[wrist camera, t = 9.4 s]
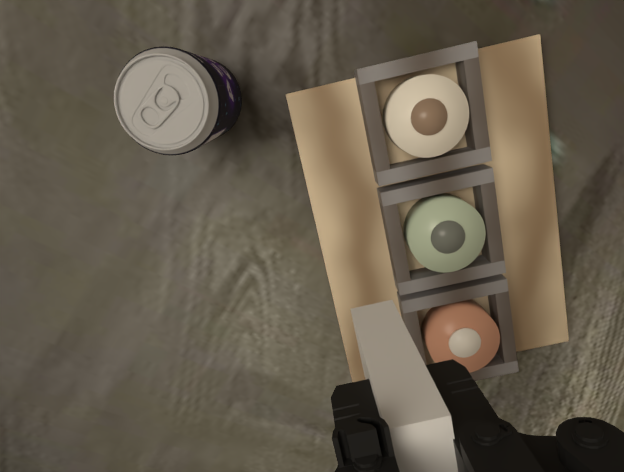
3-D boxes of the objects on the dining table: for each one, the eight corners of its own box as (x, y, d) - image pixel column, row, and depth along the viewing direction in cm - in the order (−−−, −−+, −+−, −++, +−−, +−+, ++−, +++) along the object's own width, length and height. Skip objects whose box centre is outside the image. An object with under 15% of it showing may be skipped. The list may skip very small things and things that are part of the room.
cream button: (389, 160, 37) (396, 166, 34) (376, 85, 35) (381, 84, 33) (463, 144, 37) (475, 148, 34) (452, 67, 35) (464, 65, 33)
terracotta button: (427, 363, 41) (435, 381, 39) (416, 304, 40) (423, 318, 38) (492, 350, 41) (505, 367, 39) (484, 289, 40) (496, 303, 37)
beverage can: (258, 98, 38) (239, 102, 26) (208, 153, 39) (167, 180, 27) (201, 41, 37) (154, 18, 25) (150, 99, 38) (83, 103, 26)
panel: (352, 377, 44) (357, 405, 41) (284, 87, 38) (282, 87, 34) (557, 334, 44) (582, 358, 40) (526, 30, 37) (553, 22, 33)
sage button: (409, 268, 39) (417, 280, 37) (397, 201, 38) (404, 209, 35) (479, 253, 39) (491, 264, 36) (469, 185, 37) (481, 192, 35)
